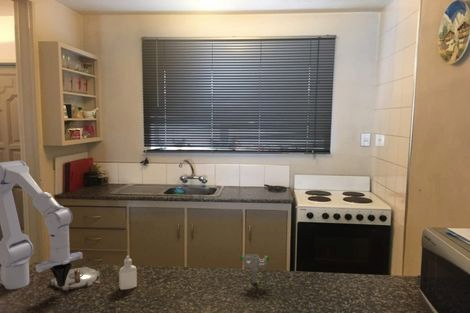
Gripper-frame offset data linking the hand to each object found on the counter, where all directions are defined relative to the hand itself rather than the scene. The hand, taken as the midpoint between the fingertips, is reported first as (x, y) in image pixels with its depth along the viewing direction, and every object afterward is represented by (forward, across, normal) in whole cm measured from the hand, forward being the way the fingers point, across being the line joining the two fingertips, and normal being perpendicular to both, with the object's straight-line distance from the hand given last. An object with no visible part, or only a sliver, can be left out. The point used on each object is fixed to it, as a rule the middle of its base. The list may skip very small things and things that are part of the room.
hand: (61, 285), depth 114 cm
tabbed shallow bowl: (+2, +8, +5) cm, 10 cm away
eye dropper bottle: (+4, +16, -14) cm, 22 cm away
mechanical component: (+4, +47, -46) cm, 66 cm away
